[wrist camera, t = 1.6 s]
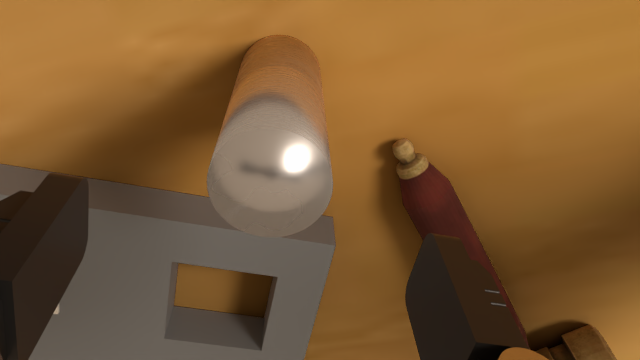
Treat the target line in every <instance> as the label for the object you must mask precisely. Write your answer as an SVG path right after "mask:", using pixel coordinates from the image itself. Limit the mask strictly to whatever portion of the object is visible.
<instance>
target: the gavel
mask: <svg viewBox="0 0 640 360" xmlns="http://www.w3.org/2000/svg"><path fill="white" fill-rule="evenodd" d="M392 150H393V154H394V156H395V157H396V158H397V159H399V160H400V162H399V163H398V165H397V170H396V171H397V173H398V175H399V179H400V186H401V193H402V200H403V205H404V207H405V208H406V210H407V212H408V214H409V216H410V217H411V219H412V221H413V223H414V225H415V226H416V228H417V230H418V232H419V233H420V235H421V237H422V239H423V241H424V238H425V237H426V235H427V234H429V233H433V234H439V235H445V236H452V237H458V238H460V239H461V241H462V243H463V245H464V247H465V249H466V251H467V253H468V256H469V258H470V260H476V261H478V262H479V263H480V264H481V265H482V266H483V267H484V268H485V269H486V270H487V271H488V272H489V273H490V274H491V275H492V277H493V279H494V281H495V283H496V285H497V287H498V289H499V291H500V292H499V294H501V295H502V297H503V299H504V301H505V302H506V307H508V308H509V310H510V312H511V314H512V316H513V318H514V320H515V322H516V324H517V326H518V328H519V330H520V332H521V334H522V336H523V338H524V340H525V342H526V344H527V346H528V341H527V337H526V333H525V330H524V328H523V326H522V324H521V322H520V320H519V318H518V316H517V314H516V312H515V310H514V308H513V306H512V304H511V302H510V300H509V298H508V296H507V294H506V292H505V290H504V288H503V286H502V284H501V282H500V280H499V278H498V276H497V274H496V272H495V270H494V268H493V266H492V264H491V262H490V261H489V259H488V257H487V255H486V253H485V251H484V249H483V247H482V245H481V243H480V241H479V239H478V237H477V235H476V233H475V231H474V229H473V227H472V225H471V223H470V221H469V219H468V217H467V215H466V213H465V211H464V209H463V207H462V205H461V203H460V201H459V199H458V197H457V195H456V193H455V191H454V189H453V187H452V185H451V183H450V181H449V180H448V179H447V178H446V177H445V176H444V175H443V174H441V173H440V172H439V171H438V170H437V169H436V168H435V167H434V166H433V165H431V164H430V163H429V162H428V160H427V158H426V157H425V156H424V155H422V154H419V153H417V154H415V153H414V146H413V144H412V143H411V142H410V141H409V140H407V139H400V140H398V141H396V142H395V143H394V144H393V148H392ZM561 338H562V341H563V344H560V345H558V346H555V347H553V348H550V349H548V348H547V347H545V348H542V349H540V350H537V351H534V352H537V353H538V354H540V355H542V356H544V357H545V358H547V359H548V360H616V358H615V356H614V354H613V353H612V351H611V349H610V348H609V346H608V344H607V343H606V341H605V340H604V338H603V337H602V335H601V334H600V333H599V331H598V330H597V329H596V328H595V327H593V326H591V325H586V326H584V327H581V328H578V329H576V330H573V331H571V332H568V333H566V334H563V335H561ZM528 348H529V346H528ZM529 350H530V348H529Z"/></svg>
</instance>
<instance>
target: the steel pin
mask: <svg viewBox="0 0 640 360" xmlns="http://www.w3.org/2000/svg"><path fill="white" fill-rule="evenodd" d="M207 189H208V193H209V197H210V200H211V202H212V204H213V206H214V207H215V209H216V211H217V212H218V213H219V214H220V216H221V217H222V218H223V219H224V220H225V221H227V222H228V223H229V224H231V225H232V226H234V227H235V228H237V229H239V230H241V231H243V232H245V233H248V234H251V235H255V236H260V237H283V236H288V235H292V234H295V233H297V232H300V231H302V230H304V229H306V228H307V227H309V226H310V225H312V224H313V223H314V222H315V221H317V220H318V219H319V217H320V216H321V215H322V214H323V213H324V211H325V210H326V208H327V206H328V204H329V202H330V199H331V196H332V190H333V178H332V170H331V161H330V152H329V144H328V135H327V126H326V117H325V109H324V100H323V91H322V83H321V74H320V67H319V63H318V60H317V58H316V56H315V54H314V53H313V51H312V50H311V49H310V48H309V47H308V46H307V45H306V44H305V43H303V42H302V41H300V40H298V39H296V38H294V37H290V36H286V35H273V36H268V37H265V38H263V39H261V40H259V41H257V42H256V43H255V44H253V45H252V46H251V47H250V48H249V49H248V51H247V52H246V54H245V56H244V57H243V60H242V63H241V66H240V69H239V73H238V76H237V79H236V82H235V85H234V89H233V92H232V95H231V98H230V102H229V105H228V108H227V111H226V114H225V118H224V121H223V124H222V127H221V130H220V134H219V137H218V140H217V143H216V147H215V150H214V153H213V156H212V159H211V163H210V166H209V169H208V174H207Z"/></svg>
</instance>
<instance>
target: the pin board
mask: <svg viewBox="0 0 640 360" xmlns="http://www.w3.org/2000/svg"><path fill="white" fill-rule="evenodd" d="M49 173H54V172H48V171H42V170H35V169H29V168H23V167H17V166H10V165H4V164H0V201H1V200H3V199H5V198H7V197H9V196H11V195H13V194H15V193H16V192H18V191H20V190H22V191H28V192H34V191H35V190H36V189H37V187H38V186H39V185H40V184H41V182H42V181H43V180H44V179H45V178H46V176H47V175H48V174H49ZM58 174H60V173H58ZM64 175H67V174H64ZM71 176H73V175H71ZM77 177H79V176H77ZM83 178H85V177H83ZM87 180H88V184H89V216H88V241H87V247H86V251H85V254H84V257H83V259H82V262H81V263H80V265H79V267H78V269H77V271H76V273H75V275H74V276H73V278H72V280H71V282H70V284H69V286H68V287H67V289H66V291H65V293H64V295H63V297H62V298H61V300H60V302H59V304H58V306H57V308H56V310H55V311H54V313H53V315H52V317H51V319H50V321H49V322H48V324H47V326H46V328H45V330H44V332H43V333H42V335H41V337H40V339H39V341H38V343H37V345H36V346H35V348H34V350H33V352H32V354H31V356H30V357H29V359H28V360H304V357H305V354H306V350H307V347H308V343H309V340H310V336H311V332H312V329H313V325H314V322H315V318H316V314H317V311H318V307H319V304H320V300H321V297H322V293H323V289H324V286H325V282H326V279H327V275H328V272H329V268H330V264H331V261H332V257H333V254H334V250H335V246H336V244H335V234H334V224H333V217H329V216H323V215H321V216H320V217H319V219H318V220H317V221H315V222H314V223H313V224H312V225H310V226H309V227H307V228H306V229H304V230H302V231H300V232H297V233H295V234H292V235H288V236H283V237H260V236H255V235H251V234H248V233H245V232H243V231H241V230H239V229H237V228H235V227H234V226H232V225H231V224H229V223H228V222H227V221H225V220H224V219H223V218H222V217H221V216H220V214H219V213H218V212H217V211H216V209H215V207H214V206H213V204H212V202H211V200H210V197H204V196H198V195H192V194H185V193H179V192H173V191H167V190H160V189H154V188H148V187H142V186H135V185H129V184H123V183H117V182H110V181H104V180H98V179H92V178H87ZM178 263H183V264H190V265H197V266H204V267H211V268H218V269H225V270H232V271H239V272H246V273H253V274H260V275H267V276H273V279H272V284H271V288H270V293H269V297H268V302H267V307H266V311H265V316H264V318H261V317H254V316H246V315H239V314H231V313H224V312H216V311H208V310H201V309H193V308H186V307H178V306H174V299H175V289H176V280H177V271H178Z"/></svg>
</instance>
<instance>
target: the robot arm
mask: <svg viewBox="0 0 640 360" xmlns="http://www.w3.org/2000/svg"><path fill="white" fill-rule="evenodd" d="M88 216H89V184H88V180H87V178H83V177H77V176H71V175H64V174H58V173H49V174H48V175H47V176H46V178H45V179H44V180H43V181H42V182H41V184H40V185H39V186H38V187H37V189H36V190H35V191H34V192H28V191H22V190H20V191H18V192H16V193H15V194H13V195H11V196H9V197H7V198H5V199H3V200H1V201H0V360H28V359H29V357H30V356H31V354H32V352H33V350H34V348H35V346H36V345H37V343H38V341H39V339H40V337H41V335H42V333H43V332H44V330H45V328H46V326H47V324H48V322H49V321H50V319H51V317H52V315H53V313H54V311H55V310H56V308H57V306H58V304H59V302H60V300H61V298H62V297H63V295H64V293H65V291H66V289H67V287H68V286H69V284H70V282H71V280H72V278H73V276H74V275H75V273H76V271H77V269H78V267H79V265H80V263H81V262H82V259H83V257H84V254H85V251H86V247H87V241H88ZM499 292H500V291H499V289H498V287H497V285H496V283H495V281H494V279H493V277H492V275H491V274H490V273H489V272H488V271H487V270H486V269H485V268H484V267H483V266H482V265H481V264H480V263H479V262H478V261H476V260H470V258H469V256H468V253H467V251H466V249H465V247H464V245H463V243H462V241H461V239H460V238H458V237H452V236H445V235H439V234H433V233H429V234H427V235H426V237H425V238H424V241H423V243H422V246H421V248H420V251H419V253H418V256H417V259H416V261H415V264H414V266H413V269H412V272H411V274H410V277H409V280H408V283H407V287H406V296H405V300H406V307H407V311H408V315H409V319H410V322H411V326H412V330H413V333H414V337H415V341H416V345H417V348H418V352H419V356H420V359H421V360H548V359H547V358H545V357H544V356H542V355H540V354H538V353H537V352H534V351H532V350H529V348H528V346H527V344H526V342H525V340H524V338H523V336H522V334H521V332H520V330H519V328H518V326H517V324H516V322H515V320H514V318H513V316H512V314H511V312H510V310H509V308H508V307H506V302H505V301H504V299H503V297H502V295H501V294H499Z"/></svg>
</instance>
